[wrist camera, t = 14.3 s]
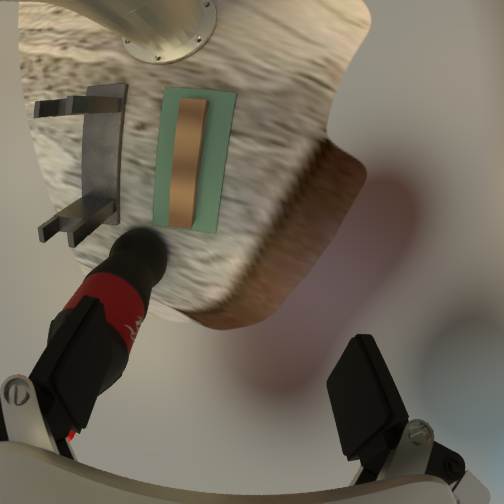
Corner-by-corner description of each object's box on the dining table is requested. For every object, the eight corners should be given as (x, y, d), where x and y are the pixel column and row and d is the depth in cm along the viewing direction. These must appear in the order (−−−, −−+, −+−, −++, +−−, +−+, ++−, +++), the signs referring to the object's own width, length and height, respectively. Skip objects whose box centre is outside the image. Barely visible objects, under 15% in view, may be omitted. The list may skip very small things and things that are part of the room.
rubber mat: (166, 87, 29) (165, 87, 29) (236, 93, 30) (236, 92, 29) (154, 224, 38) (152, 225, 37) (216, 231, 38) (215, 233, 38)
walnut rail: (185, 99, 30) (180, 97, 27) (209, 101, 30) (206, 99, 27) (173, 218, 37) (168, 226, 34) (194, 220, 37) (191, 229, 34)
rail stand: (91, 86, 28) (35, 82, 17) (128, 84, 28) (78, 74, 17) (86, 219, 37) (41, 257, 25) (119, 223, 37) (79, 265, 26)
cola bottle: (121, 270, 41) (32, 434, 14) (118, 221, 37) (-12, 382, 10) (170, 278, 42) (110, 466, 15) (171, 227, 38) (76, 426, 11)
